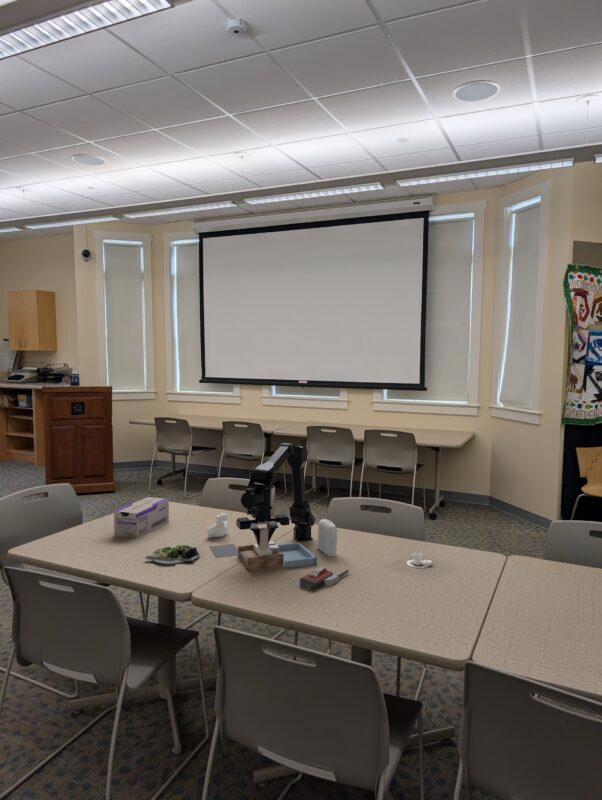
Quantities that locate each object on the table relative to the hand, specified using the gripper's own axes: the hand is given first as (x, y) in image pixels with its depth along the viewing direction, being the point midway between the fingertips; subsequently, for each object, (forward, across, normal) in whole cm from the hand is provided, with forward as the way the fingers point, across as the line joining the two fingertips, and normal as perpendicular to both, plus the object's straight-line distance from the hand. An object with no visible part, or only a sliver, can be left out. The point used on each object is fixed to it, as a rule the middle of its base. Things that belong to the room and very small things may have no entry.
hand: (262, 544), depth 200 cm
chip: (+3, -4, -2) cm, 5 cm away
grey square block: (+3, -4, +2) cm, 5 cm away
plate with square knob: (+3, 0, 0) cm, 3 cm away
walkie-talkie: (+7, -14, +23) cm, 28 cm away
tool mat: (+6, +10, -15) cm, 19 cm away
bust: (+7, +8, -34) cm, 36 cm away
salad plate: (+7, +28, -15) cm, 33 cm away
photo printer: (+7, -27, -2) cm, 28 cm away
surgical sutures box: (+7, +37, -55) cm, 67 cm away
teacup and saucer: (+7, -52, +23) cm, 58 cm away
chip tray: (+6, -12, 0) cm, 13 cm away
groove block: (+6, +1, 0) cm, 6 cm away
